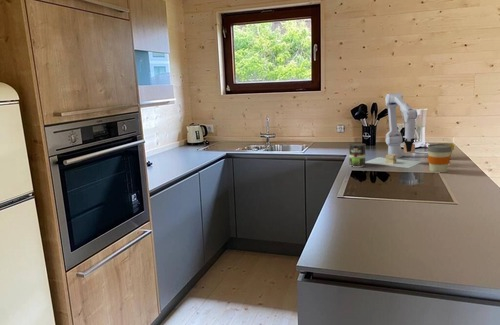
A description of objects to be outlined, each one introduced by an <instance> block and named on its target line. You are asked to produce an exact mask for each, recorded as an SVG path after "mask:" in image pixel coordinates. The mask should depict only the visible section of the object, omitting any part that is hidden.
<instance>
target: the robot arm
mask: <svg viewBox="0 0 500 325" xmlns="http://www.w3.org/2000/svg"><path fill="white" fill-rule="evenodd" d="M403 97H404V96H403V93H402V92H399V93H387V94H386V95H385V98H384V100H385V107H387V114H388V125H389V130H388V132H387V133H386V134H385V143H386V145H387V147H388V148H387V155H388V154H393V155H397V159H399V158H401V157H403V155H402V146H401V144H402V143H403V142H404V145H405V144H406V149H407V152H411V149H412V145H413V144H415V143H414V142H415V140H416V139H415V138H416V136H415V134H416V119H417V118H418V111H417V109H413V108H412V107H411V106H410V105H409V103H406V102H405V100H404V98H403ZM397 107H399V110H400V112H402V114H403V119H404V123H405V124H404V135H403V136H402V132H400V131H399V130H398V122H397V109H396V108H397ZM404 138H405V140H404V141H403V139H404Z"/></svg>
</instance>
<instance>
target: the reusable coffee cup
mask: <svg viewBox="0 0 500 325" xmlns="http://www.w3.org/2000/svg"><path fill="white" fill-rule="evenodd" d="M451 151H452V150H451V146H450V145H446V144H439V143H435V144H434V143H431V144H428V146H427V162H428V165H429V171H431V172H432V173H435V172H445V173H447V171H448V168H449V164H450V161H451V156H452V155H451V156H450V153H451ZM452 152H453V151H452Z"/></svg>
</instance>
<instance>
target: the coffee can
mask: <svg viewBox="0 0 500 325" xmlns="http://www.w3.org/2000/svg"><path fill="white" fill-rule="evenodd" d="M348 145H349V147H348V151H349V154H348V155H349V156H348V158H349V159H348V160H349V162H348V164H349V165H350V166H349V165H348V166H349V167H351V166H353V167H352V168H363V166H364V167H365V166H366V163H365V162H366V146H367V144H366V143H362V142H355V143H354V142H352V143H349V144H348Z"/></svg>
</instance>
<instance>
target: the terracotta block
mask: <svg viewBox="0 0 500 325" xmlns="http://www.w3.org/2000/svg"><path fill="white" fill-rule="evenodd" d="M415 152H416V144H415V143H413V145H412V149H411V152H407V149H406V144H405V143H404V144H403V153H406V154H414V153H415Z"/></svg>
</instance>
